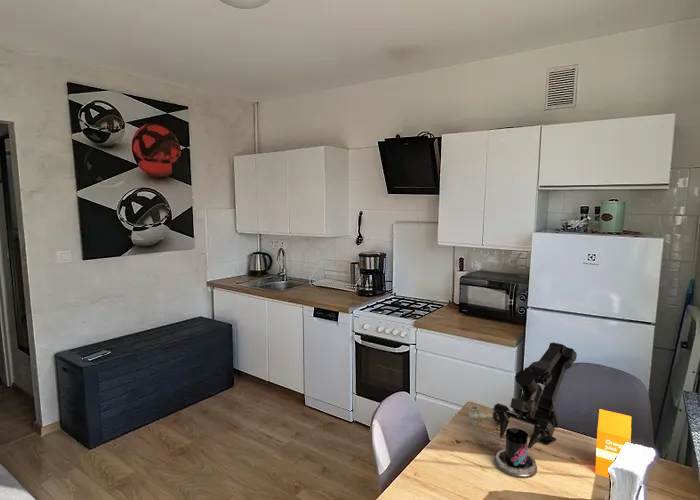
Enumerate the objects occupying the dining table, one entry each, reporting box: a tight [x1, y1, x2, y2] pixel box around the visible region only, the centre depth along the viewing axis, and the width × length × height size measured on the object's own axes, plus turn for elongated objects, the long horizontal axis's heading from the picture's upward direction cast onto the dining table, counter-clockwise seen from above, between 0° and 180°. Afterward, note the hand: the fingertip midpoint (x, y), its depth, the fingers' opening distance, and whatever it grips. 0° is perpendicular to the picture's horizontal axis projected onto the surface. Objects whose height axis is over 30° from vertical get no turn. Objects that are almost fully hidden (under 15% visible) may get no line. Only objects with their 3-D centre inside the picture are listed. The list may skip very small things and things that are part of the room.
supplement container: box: [505, 427, 529, 469], centre depth 139 cm, size 7×7×10 cm
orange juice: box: [594, 408, 632, 479], centre depth 135 cm, size 8×9×20 cm
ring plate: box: [494, 448, 538, 479], centre depth 139 cm, size 13×13×2 cm
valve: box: [468, 405, 500, 427], centre depth 167 cm, size 7×7×12 cm
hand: (514, 442), depth 137 cm, fingers open, 9 cm apart
